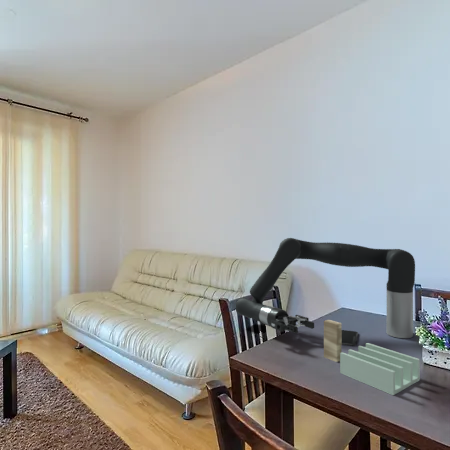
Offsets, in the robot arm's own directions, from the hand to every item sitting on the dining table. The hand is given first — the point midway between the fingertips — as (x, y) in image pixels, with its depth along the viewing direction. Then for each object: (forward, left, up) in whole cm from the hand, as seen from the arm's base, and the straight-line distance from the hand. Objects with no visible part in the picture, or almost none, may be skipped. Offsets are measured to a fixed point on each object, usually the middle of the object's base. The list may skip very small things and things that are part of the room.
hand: (305, 327), depth 122 cm
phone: (-20, +2, -8) cm, 22 cm away
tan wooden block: (0, +11, -7) cm, 13 cm away
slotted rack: (0, +27, -7) cm, 28 cm away
